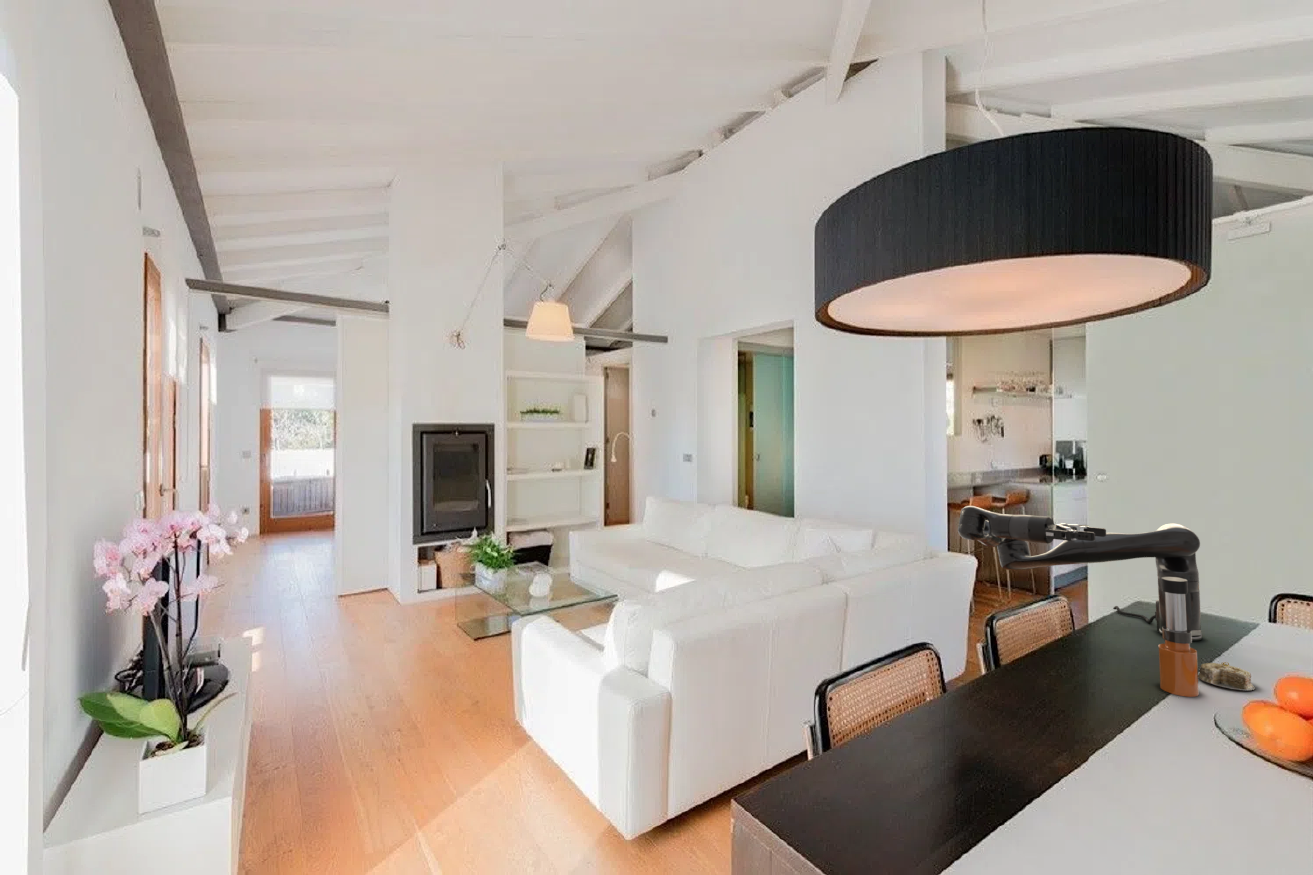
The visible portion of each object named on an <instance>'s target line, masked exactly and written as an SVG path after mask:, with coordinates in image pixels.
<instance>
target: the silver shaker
mask: <svg viewBox="0 0 1313 875" xmlns="http://www.w3.org/2000/svg"><path fill="white" fill-rule="evenodd" d="M1162 591H1164V592H1165V607H1166V628H1167V629H1169V630H1172V631H1177V632H1186V631H1187V625H1186V601H1185V594H1187V593H1188V581H1187V580H1186V579H1183V578H1177V577H1162Z"/></svg>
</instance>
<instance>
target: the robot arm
mask: <svg viewBox="0 0 1313 875" xmlns="http://www.w3.org/2000/svg"><path fill="white" fill-rule="evenodd" d="M1081 529H1083V530H1081ZM957 532H958V533H957V534H958V535H959V536H960V537H961V538H962V539H963V540H968V541H978V542H979V543H981V544H982V545H984V546H986V547H990V548H996V549H997V554H998V560H999V564H1000V567H1001V568H1002V569H1004V570H1007V571H1023V570H1024V571H1025V570H1031V569H1038V568H1039V569H1040V568H1046V567H1055V566H1066V565H1067V566H1068V565H1082V564H1085V565H1086V564H1101V563H1108V562H1109V563H1110V562H1119V561H1128V560H1133V559H1134V560H1135V559H1143V558H1144V559H1145V558H1146V559H1147V558H1155V568H1156V573H1157V574H1156V575H1157V594H1158V597H1157V598H1158V599H1156V600H1155V611H1154V614H1153V615H1151V617H1150V618H1148V617H1147V616H1145V615H1142V614H1138V613H1133V612H1127V611H1123V610H1121V609H1120V607H1119V606H1118V605H1115V606H1113V608H1112V609H1113V610H1116V611H1117V612H1118V611H1119V612H1118V613H1120V614H1122V615H1124V616H1129V617H1130V616H1131V617H1135V618H1140V619H1143V620H1145V622H1146V623H1147V624H1151V623H1153V621H1154V620H1155V622H1156V631H1157V632H1158V633H1159V634H1160V635H1162V627H1164V626H1166V607H1165V592H1164V591H1162V577H1177V578H1183V579H1186V580H1187V581H1188V593H1187V594H1185V601H1186V625H1187V629H1188V630H1190V631H1191V632H1192V642H1199V641H1201V640H1202V639H1203V635H1202V617H1201V615H1202V614H1201V596H1200V595H1201V594H1200V574H1199V573H1200V572H1199V569H1198V564H1197V555H1196V553H1197V552H1198V551H1199V549H1200V548H1201V547H1200V546H1201V540H1200V538H1199V536H1198V535H1197V534H1196V533H1195V532H1194V531H1193V530H1192V529H1190V528H1188V527H1187V526H1185V525H1183V524H1179V523H1166V524H1163V525H1161V526H1160V527H1158V529H1156V530H1153V531H1148V532H1147V531H1146V532H1138V533H1137V532H1136V533H1124V532H1123V533H1121V532H1107V529H1106V528H1105V527H1104V528H1103V527H1092V526H1090V525H1088V524H1077V523H1065V522H1064V523H1063V522H1060V523H1058V524H1055V523H1054V519H1053V518H1052V517H1051V516H1045V515H1044V516H1043V515H1034V514H1033V515H1032V514H1031V515H1030V514H1007V513H1006V514H1005V513H998V512H993V511H989V510H986V509H985V508H984V509H983V508H981V507H977V506H975V505H966V506H964V507H963V508H961V511H960V516H959V520H958V526H957ZM1054 540H1059V541H1062V542H1060V543H1059V544H1057V545H1056V546H1055V547H1054V548H1052V549H1050V550H1048V551H1046V552H1044V553H1041V554H1038V555H1037V554H1036V555H1031V551H1030V547H1029V543H1039V544H1051V543H1052V542H1053V541H1054ZM1028 542H1029V543H1028Z"/></svg>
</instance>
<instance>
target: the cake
mask: <svg viewBox="0 0 1313 875" xmlns="http://www.w3.org/2000/svg"><path fill="white" fill-rule="evenodd" d="M1198 679H1200V680H1201V681H1203V682H1205V683H1207V684H1210V685H1214V686H1218V687H1222V688H1225V689H1226V688H1227V689H1231V690H1238V691H1254V690H1255V689H1256V687H1255V685H1253V683H1252V674H1251V672H1250V671H1248V670H1245V669H1243V668H1241V667H1238V666H1234V665H1230V663H1229V662H1228V661H1223V662H1220V663H1217V662H1207V663H1206V662H1205V663H1202V664H1201V665H1200V667H1199V670H1198Z"/></svg>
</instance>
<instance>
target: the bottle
mask: <svg viewBox="0 0 1313 875" xmlns="http://www.w3.org/2000/svg"><path fill="white" fill-rule="evenodd" d="M1161 635H1162V636H1161V637H1162V639H1163V640H1164V643H1159V644H1158V646H1157V647H1158V667H1159V668H1158V669H1159V687H1160V689H1161V690H1162V691H1164V692H1167V693H1169V694H1172V695H1175V696H1180V697H1189V698H1193V697H1194V698H1195V697H1199V695H1200V689H1199V678H1198V675H1199V667H1198V666H1199V664H1198V651H1197V650H1196V648H1193V647H1191V644H1192V643H1193V641H1192V632H1191V631H1190V630H1188V629H1187V631H1186V632H1177V631H1172V630H1169V629H1167V628H1166V626H1164V627H1162V634H1161Z"/></svg>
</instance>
